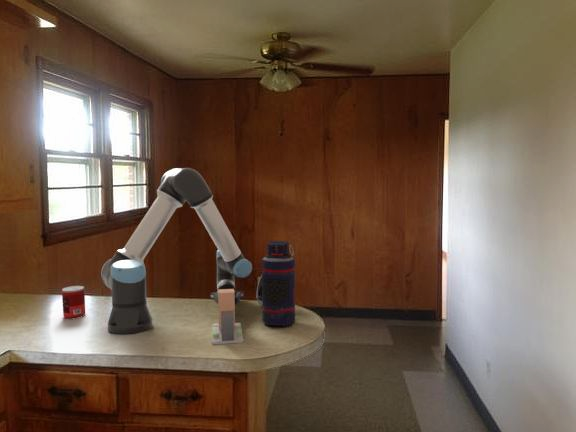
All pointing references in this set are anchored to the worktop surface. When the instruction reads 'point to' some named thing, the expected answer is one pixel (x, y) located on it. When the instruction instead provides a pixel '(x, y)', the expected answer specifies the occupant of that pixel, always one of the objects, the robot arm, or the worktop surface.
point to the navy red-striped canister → (278, 285)
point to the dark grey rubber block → (227, 326)
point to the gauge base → (217, 340)
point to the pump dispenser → (259, 291)
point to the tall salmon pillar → (226, 304)
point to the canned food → (73, 302)
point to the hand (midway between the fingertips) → (228, 306)
